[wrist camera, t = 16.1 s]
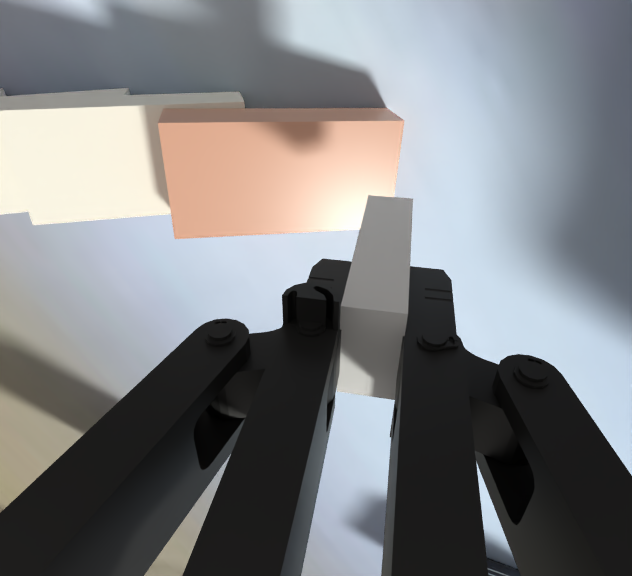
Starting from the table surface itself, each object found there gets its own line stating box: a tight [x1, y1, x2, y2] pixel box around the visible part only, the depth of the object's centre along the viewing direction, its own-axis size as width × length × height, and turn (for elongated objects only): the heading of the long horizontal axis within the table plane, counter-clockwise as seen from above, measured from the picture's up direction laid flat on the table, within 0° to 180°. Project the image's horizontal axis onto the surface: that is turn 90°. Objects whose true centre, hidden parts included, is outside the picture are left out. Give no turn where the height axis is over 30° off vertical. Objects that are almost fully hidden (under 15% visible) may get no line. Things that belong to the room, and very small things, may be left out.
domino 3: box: [158, 108, 404, 239], centre depth 21 cm, size 2×5×10 cm
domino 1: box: [0, 88, 130, 215], centre depth 23 cm, size 2×5×10 cm
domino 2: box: [0, 92, 245, 225], centre depth 22 cm, size 2×5×10 cm
